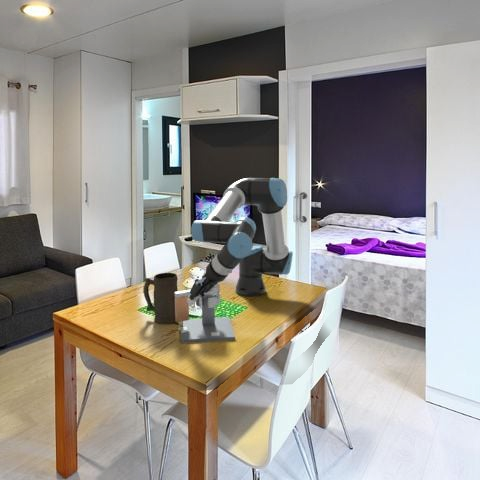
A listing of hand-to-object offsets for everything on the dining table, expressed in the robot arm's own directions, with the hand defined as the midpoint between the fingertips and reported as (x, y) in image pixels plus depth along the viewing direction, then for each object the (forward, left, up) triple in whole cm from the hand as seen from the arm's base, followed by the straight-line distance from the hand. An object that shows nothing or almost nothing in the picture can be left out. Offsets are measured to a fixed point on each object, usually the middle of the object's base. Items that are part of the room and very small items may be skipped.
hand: (189, 302), depth 155 cm
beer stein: (+11, -18, -14) cm, 25 cm away
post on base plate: (-7, -4, -13) cm, 15 cm away
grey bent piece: (-3, -7, -9) cm, 11 cm away
